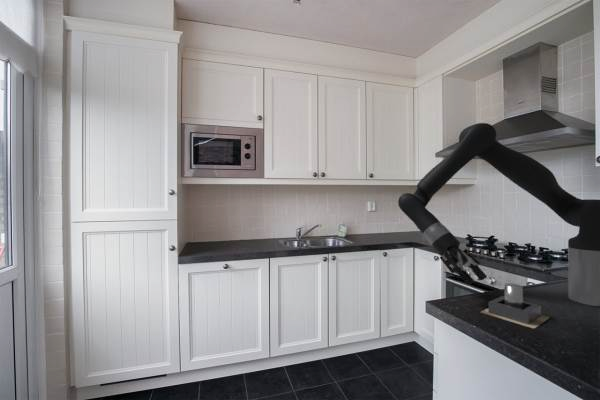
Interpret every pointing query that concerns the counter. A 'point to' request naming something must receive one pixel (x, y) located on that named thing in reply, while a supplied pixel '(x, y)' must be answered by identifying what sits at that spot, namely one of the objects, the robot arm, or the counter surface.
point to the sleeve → (515, 311)
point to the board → (532, 325)
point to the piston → (514, 295)
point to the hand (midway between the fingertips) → (477, 280)
